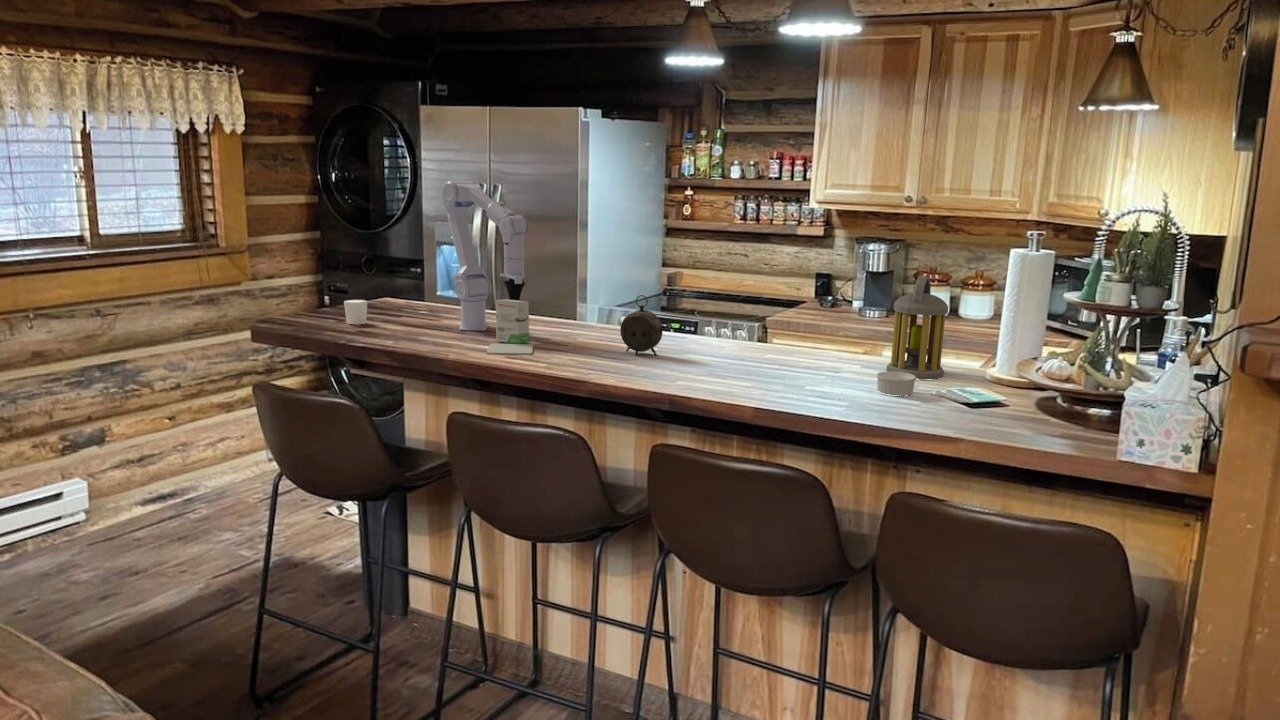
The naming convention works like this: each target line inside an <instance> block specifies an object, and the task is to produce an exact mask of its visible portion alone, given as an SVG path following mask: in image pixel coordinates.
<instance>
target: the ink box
mask: <svg viewBox="0 0 1280 720" xmlns="http://www.w3.org/2000/svg"><path fill="white" fill-rule="evenodd" d="M495 308H496V309H495V311H496V312H495V313H496V314H495V318H496V319H495V320H496V321H495V323H496V324H495V325H496V326H495V327H496V328H495V329H496V332H495V333H496V334H495V335H496V336H495V337H496V339H495V340H496V342H499V343H506V344H528V343H530V320H529V319H530V313H529V309H530V308H529V301H528V300H527V301H526V300H519V301H518V300H509V298H507V299H496V300H495Z"/></svg>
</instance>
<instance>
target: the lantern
mask: <svg viewBox="0 0 1280 720" xmlns="http://www.w3.org/2000/svg"><path fill="white" fill-rule="evenodd" d="M931 289H932V288H931V280H930V277H928V276H923V275H922V276H921V275H920V276H918V278H917V279H916V282H915V285H914V290H913V292H911V293H907V294H904V295H902V296H901V297H899V298H897V300H895V301H894V303H893V310H894V321H893V322H894V323H893V334H892V343H891V345H892V347H891V358H890V359H891V360H890V362H889V363H888V364H887V366H886V371H887V372H890V371H891V372H904V373H909V374H912V375H914V376H916V378H918V379H937V380H939V379H938V378H941V379H943V378H944V373H945V370H944V368H943V367H942V366H941V365H942V364H941V363H942V356H943V355H942V352H943V344H944V342H943V341H944V333H945V322H946V315H947V314H949V313H948V312H949V305H948V304H947V303H946V302H945V301H944V300H943V299H942V298H940V297H939V296H937V295H935V294H931V292H932V291H931ZM918 315H919V316H922V320H921V321H922V324H920V323H919V324H918ZM909 316H910V317H909ZM908 328H909V329H908ZM907 338H908V339H907ZM907 340H908V341H907ZM886 371H885V372H886ZM942 377H943V378H942Z"/></svg>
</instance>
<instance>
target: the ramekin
mask: <svg viewBox="0 0 1280 720" xmlns="http://www.w3.org/2000/svg"><path fill="white" fill-rule="evenodd" d="M876 378H877V391H880V392H882V393H885V394H890V395H899V396H900V395H901V396H905V395H911V394H912V395H913V394H914V388H915V382H916V381H917V380H916V376H914V375H912V374H909V373H904V372H891V371H890V372H886V371H881V372H877V373H876ZM912 395H911V396H912Z"/></svg>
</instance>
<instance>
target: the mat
mask: <svg viewBox="0 0 1280 720" xmlns="http://www.w3.org/2000/svg"><path fill="white" fill-rule="evenodd" d="M534 347H535V346H534V343H521V344H515V343H489V345H488V348H487V350H486V355H533V350H534Z"/></svg>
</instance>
